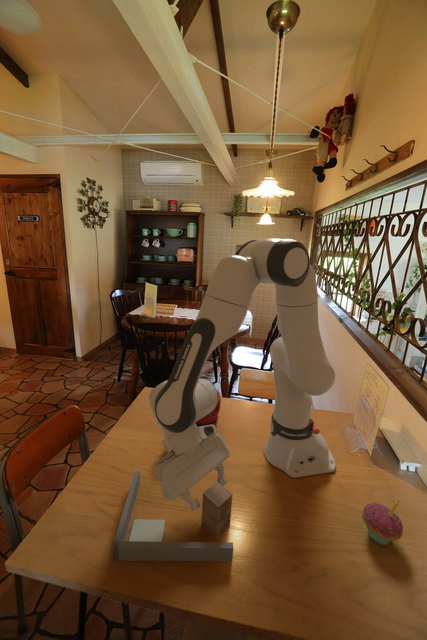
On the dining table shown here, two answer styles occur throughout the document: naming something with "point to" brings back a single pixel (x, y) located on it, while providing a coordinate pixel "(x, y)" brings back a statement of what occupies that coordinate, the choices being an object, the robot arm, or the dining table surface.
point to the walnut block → (216, 509)
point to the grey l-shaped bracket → (160, 540)
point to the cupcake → (382, 523)
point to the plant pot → (210, 415)
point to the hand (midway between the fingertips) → (210, 496)
